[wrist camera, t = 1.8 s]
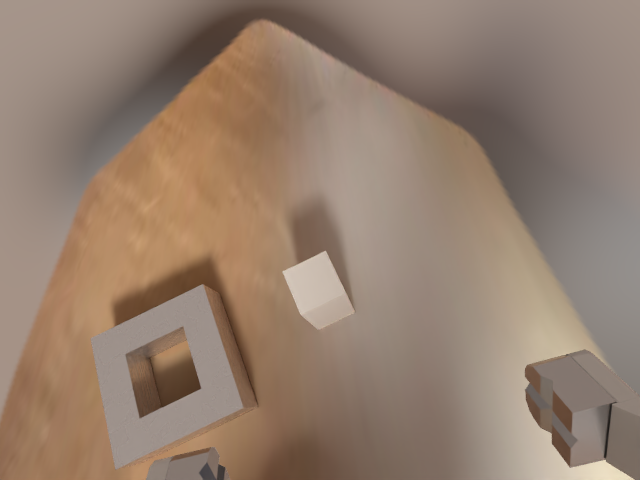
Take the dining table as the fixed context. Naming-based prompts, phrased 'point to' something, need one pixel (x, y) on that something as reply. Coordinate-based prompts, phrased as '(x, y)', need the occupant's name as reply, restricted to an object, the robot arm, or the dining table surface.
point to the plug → (318, 291)
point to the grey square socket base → (139, 384)
